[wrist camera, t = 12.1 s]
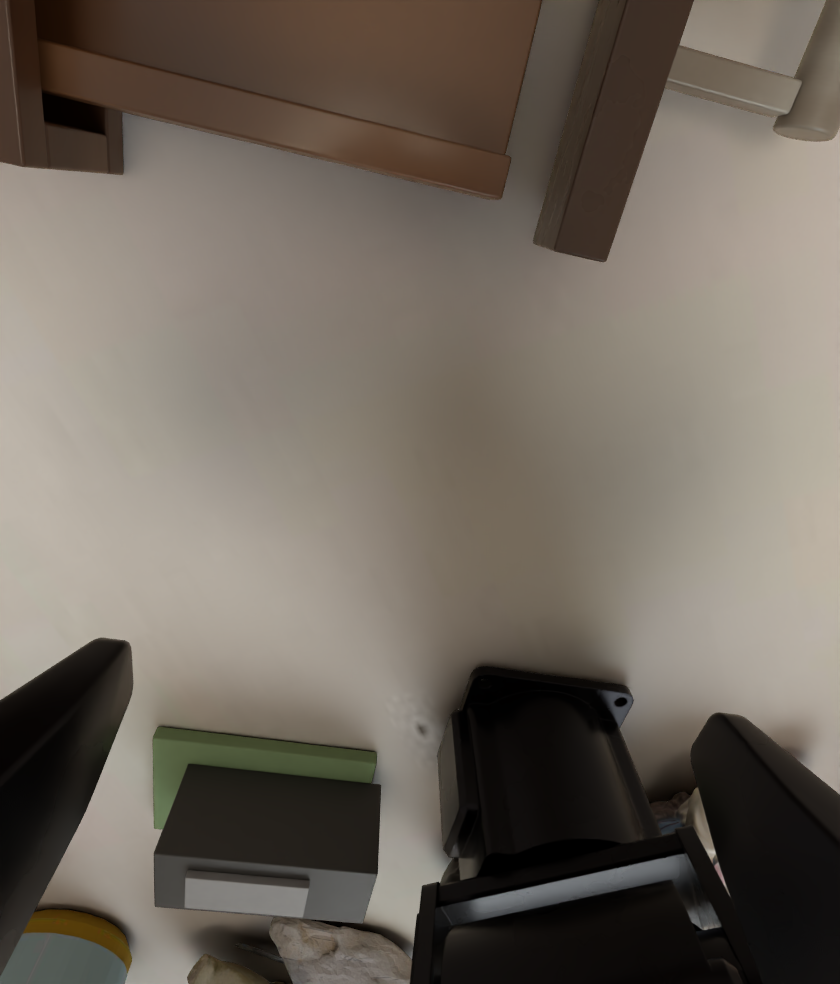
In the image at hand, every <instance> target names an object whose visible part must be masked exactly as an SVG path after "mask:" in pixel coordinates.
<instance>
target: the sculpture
mask: <svg viewBox="0 0 840 984" xmlns="http://www.w3.org/2000/svg"><path fill="white" fill-rule="evenodd" d="M187 979H188V983H189V984H285V983H282V982H273V983H269V982H268V981H267V980H266V979H265V978H264V977H262V976H261V975H259V974H257V973H256V972H254V971H252V970H250V969H248V968H246V967H244V966H242V965H239V964H236V963H231V962H226V961H220V960H218V959H216V958H214V957H213V956H211V955H208V954H204V955H203V956H202V957H201V958H200V959H199V960H198V962H197V963H196V964H195V965H194V967H193V968H192V970H191V971H190V973H189V975H188V976H187Z"/></svg>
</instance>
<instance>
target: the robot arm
mask: <svg viewBox="0 0 840 984" xmlns="http://www.w3.org/2000/svg"><path fill="white" fill-rule="evenodd" d="M482 679H487V680H485V681H481V680H482ZM132 690H133V668H132V651H131V646H130V644H129V642H127V641H125V640H117V639H109V638H98V639H95V640H93V641H91V642H89V643H88V644H86V645H85V646H83V647H82V648H80V649H79V650H77V651H76V652H74V653H72V654H71V655H69V656H68V657H66V658H65V659H63V660H62V661H60V662H59V663H57V664H56V665H54V666H52V667H51V668H49V669H48V670H46V671H45V672H43V673H42V674H40V675H39V676H37V677H35V678H34V679H32V680H31V681H29V682H28V683H26V684H25V685H23V686H22V687H20V688H18V689H17V690H15V691H14V692H12V693H11V694H9V695H8V696H6V697H5V698H3V699H1V700H0V976H1V974H2V973H3V971H4V969H5V967H6V965H7V963H8V961H9V959H10V957H11V955H12V953H13V951H14V949H15V947H16V946H17V944H18V942H19V940H20V938H21V936H22V934H23V932H24V930H25V928H26V926H27V924H28V922H29V921H30V919H31V917H32V915H33V913H34V911H35V909H36V907H37V905H38V903H39V901H40V899H41V897H42V895H43V894H44V892H45V890H46V888H47V886H48V884H49V882H50V880H51V878H52V876H53V874H54V872H55V870H56V869H57V867H58V865H59V863H60V861H61V859H62V857H63V855H64V853H65V851H66V849H67V847H68V845H69V843H70V842H71V840H72V838H73V836H74V834H75V832H76V830H77V828H78V826H79V824H80V822H81V820H82V818H83V816H84V814H85V812H86V809H87V807H88V804H89V802H90V800H91V797H92V795H93V793H94V790H95V787H96V785H97V782H98V780H99V777H100V775H101V772H102V770H103V767H104V765H105V762H106V760H107V757H108V755H109V752H110V749H111V747H112V744H113V742H114V739H115V737H116V734H117V732H118V729H119V727H120V724H121V722H122V719H123V717H124V714H125V712H126V709H127V706H128V704H129V701H130V698H131V695H132ZM618 698H619V699H618ZM633 701H634V700H633V697H632V694H631V692H630V690H629V689H628V688H627V687H626V686H623V685H617V684H610V683H603V682H596V681H589V680H581V679H574V678H567V677H560V676H553V675H545V674H538V673H531V672H524V671H517V670H510V669H502V668H495V667H488V666H481V667H478V668H476V669H475V670H473V672H472V673H471V676H470V678H469V681H468V684H467V687H466V690H465V693H464V696H463V699H462V702H461V705H460V708H459V710H455V711H454V712H453V713H452V714H451V715H450V718H449V721H448V724H447V727H446V730H445V733H444V736H443V739H442V742H441V745H440V748H439V751H438V755H437V757H438V774H439V791H440V807H441V824H442V841H443V850H444V851H445V853H446V854H447V856H448V857H451V858H459V868H460V880H459V881H455V882H451V883H446V884H442V885H441V884H440V883H439V882H436V883H431V884H427V885H423V886H422V891H421V901H420V910H419V913H418V914H417V919H416V928H415V938H414V947H413V956H412V966H411V975H410V984H840V795H839V794H838V793H837V792H836V791H834V790H833V789H832V788H831V787H830V786H828V785H827V784H826V783H825V782H823V781H822V780H821V779H820V778H819V777H817V776H816V775H815V774H814V773H812V772H811V771H810V770H809V769H807V768H806V767H805V766H804V765H803V764H801V763H800V762H799V761H798V760H796V759H795V758H794V757H793V756H792V755H790V754H789V753H788V752H787V751H785V750H784V749H783V748H782V747H780V746H779V745H778V744H777V743H776V742H774V741H773V740H772V739H771V738H769V737H768V736H767V735H766V734H765V733H763V732H762V731H761V730H760V729H758V728H757V727H756V726H755V725H753V724H752V723H751V722H750V721H749V720H747V719H746V718H745V717H743V716H740V715H735V714H727V713H715V714H713V715H711V717H710V718H709V719H708V721H707V722H706V724H705V726H704V727H703V729H702V730H701V732H700V734H699V735H698V737H697V739H696V740H695V742H694V743H693V745H692V748H691V764H692V768H693V771H694V775H695V779H696V783H697V786H698V790H699V794H700V797H701V801H702V805H703V808H704V812H705V816H706V820H707V823H708V827H709V831H710V834H711V838H712V842H713V846H714V849H715V853H716V856H717V859H718V863H719V866H720V869H721V872H722V875H723V878H724V881H725V884H726V886H727V889H728V892H729V894H728V892H727V890H726V888H725V886H724V884H723V882H722V880H721V878H720V877H719V875H718V873H717V871H716V869H715V867H714V865H713V863H712V861H711V859H710V858H709V856H708V854H707V852H706V850H705V848H704V846H703V844H702V842H701V840H700V839H699V837H698V835H697V833H696V831H695V829H694V827H693V825H688V826H683V827H679V828H674V830H675V832H673V833H668V834H664V835H662V832H661V830H660V828H659V825H658V823H657V820H656V818H655V815H654V813H653V810H652V808H651V805H650V803H649V800H648V798H647V795H646V793H645V791H644V788H643V786H642V783H641V781H640V778H639V776H638V773H637V771H636V768H635V766H634V763H633V761H632V759H631V756H630V754H629V751H628V749H627V746H626V744H625V741H624V739H623V736H622V734H621V731H620V727H621V725H622V723H623V721H624V719H625V717H626V715H627V714H628V712H629V710H630V708H631V706H632V704H633Z"/></svg>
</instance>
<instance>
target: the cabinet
mask: <svg viewBox="0 0 840 984" xmlns="http://www.w3.org/2000/svg"><path fill="white" fill-rule="evenodd" d="M0 162H3V163H8V164H12V165H17V166H21V167H30V168H42V169H45V168H46V169H56V170H68V171H80V172H92V173H104V174H105V173H106V174H115V175H123V141H122V112H120V111H116V110H112V109H108V108H104V107H99V106H95V105H91V104H87V103H83V102H79V101H74V100H70V99H66V98H62V97H58V96H54V95H49V94H45V93H42V90H41V78H40V66H39V54H38V42H37V30H36V17H35V5H34V0H0Z"/></svg>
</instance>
